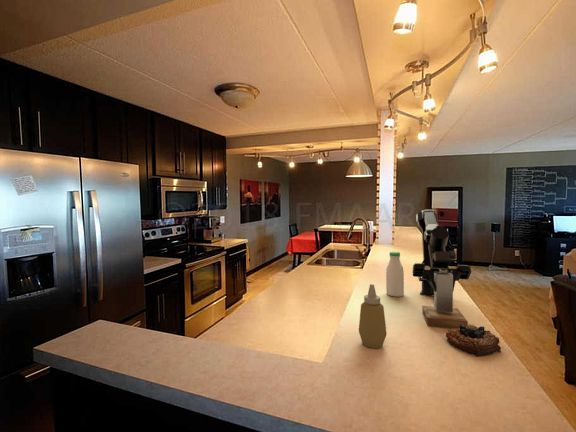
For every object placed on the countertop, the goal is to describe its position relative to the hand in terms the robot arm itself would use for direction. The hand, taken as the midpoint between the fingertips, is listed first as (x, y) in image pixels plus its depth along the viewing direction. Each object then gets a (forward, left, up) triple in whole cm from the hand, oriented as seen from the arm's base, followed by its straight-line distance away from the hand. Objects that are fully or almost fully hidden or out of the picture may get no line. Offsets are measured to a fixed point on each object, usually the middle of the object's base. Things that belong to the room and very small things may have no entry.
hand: (443, 291), depth 98 cm
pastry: (+14, +9, -11) cm, 20 cm away
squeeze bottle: (+29, -16, -11) cm, 35 cm away
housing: (-1, 0, -7) cm, 7 cm away
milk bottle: (-24, -22, -11) cm, 35 cm away
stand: (-1, 0, -11) cm, 11 cm away
